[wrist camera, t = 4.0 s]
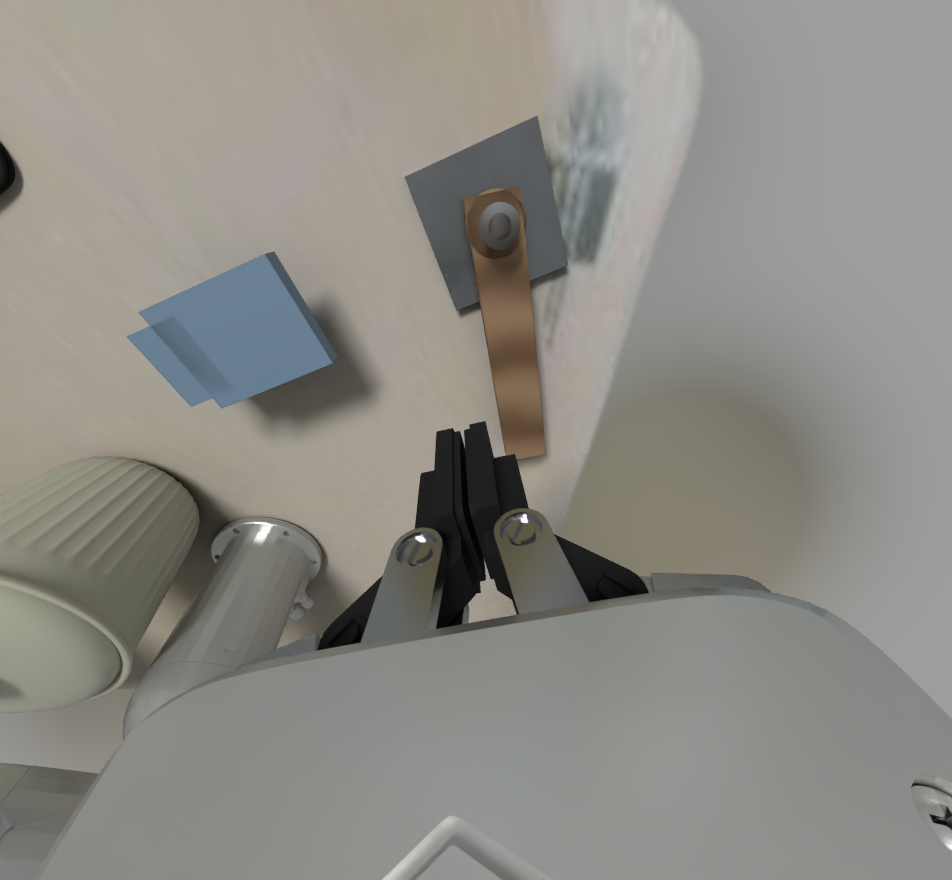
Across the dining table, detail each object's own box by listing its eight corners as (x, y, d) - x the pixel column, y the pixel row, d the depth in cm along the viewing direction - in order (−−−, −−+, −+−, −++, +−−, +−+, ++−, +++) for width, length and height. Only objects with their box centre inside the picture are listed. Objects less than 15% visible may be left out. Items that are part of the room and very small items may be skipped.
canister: (125, 566, 46) (-75, 794, 28) (-11, 451, 36) (-449, 688, 18) (261, 535, 45) (143, 750, 27) (159, 408, 35) (-129, 613, 17)
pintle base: (565, 263, 31) (568, 265, 30) (456, 308, 32) (456, 310, 32) (534, 117, 26) (537, 115, 25) (405, 177, 27) (404, 177, 26)
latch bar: (458, 196, 27) (461, 195, 24) (517, 183, 27) (528, 180, 23) (502, 449, 40) (508, 473, 36) (542, 442, 39) (552, 465, 36)
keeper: (349, 339, 33) (332, 363, 28) (235, 386, 34) (200, 417, 29) (295, 246, 29) (264, 254, 24) (168, 304, 30) (114, 323, 25)
